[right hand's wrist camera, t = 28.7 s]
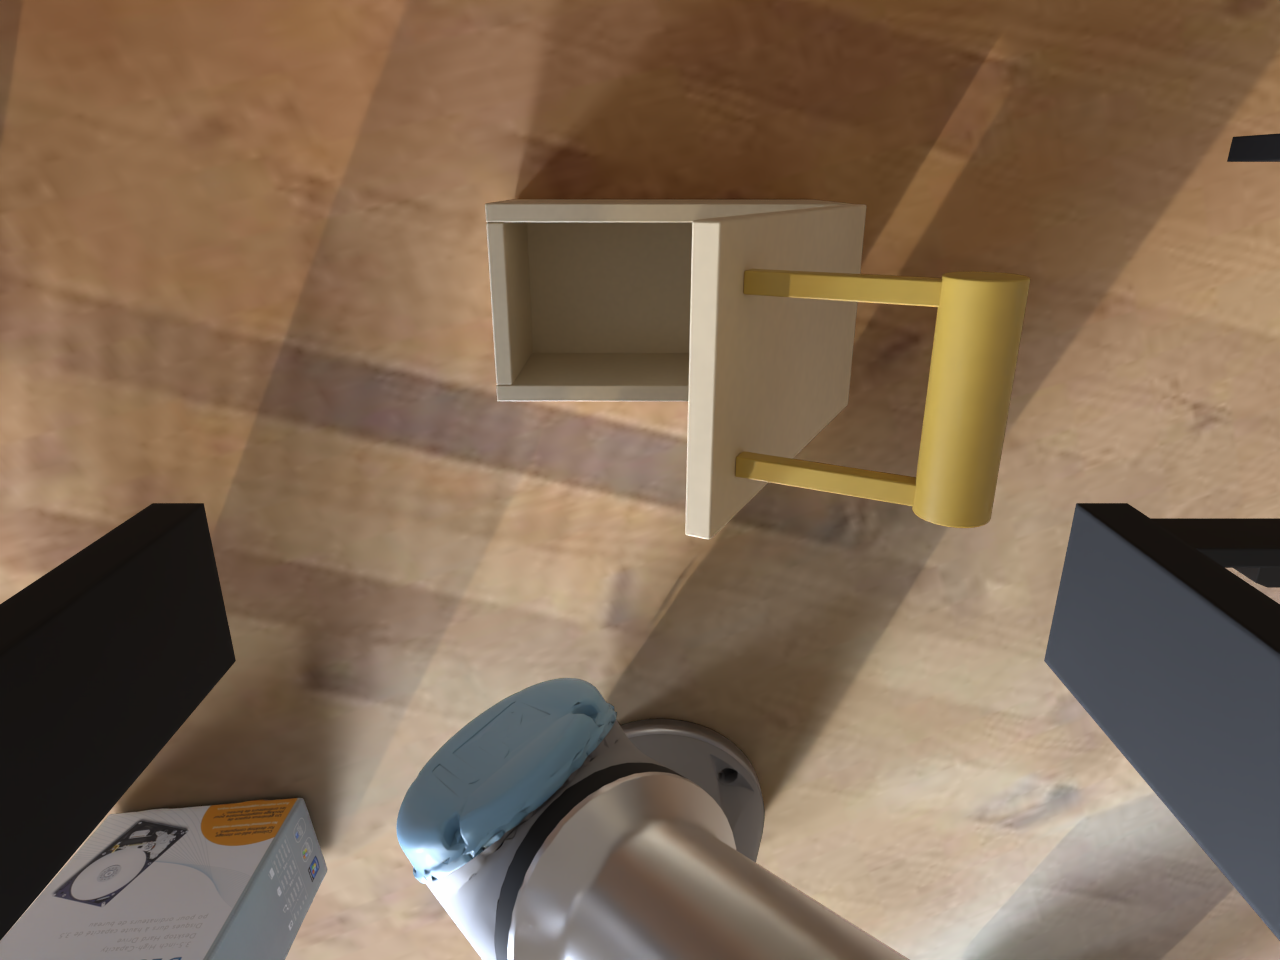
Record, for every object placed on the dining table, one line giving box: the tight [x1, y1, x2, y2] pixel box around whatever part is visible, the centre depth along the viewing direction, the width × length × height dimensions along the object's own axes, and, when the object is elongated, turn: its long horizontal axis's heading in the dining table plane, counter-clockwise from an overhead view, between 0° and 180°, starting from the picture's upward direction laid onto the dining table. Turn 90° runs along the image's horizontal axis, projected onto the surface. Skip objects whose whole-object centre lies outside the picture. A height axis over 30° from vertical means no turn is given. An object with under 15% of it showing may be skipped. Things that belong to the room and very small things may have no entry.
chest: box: [485, 199, 850, 401], centre depth 43 cm, size 17×10×9 cm, turn 90°
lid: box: [685, 204, 1030, 539], centre depth 29 cm, size 18×10×9 cm
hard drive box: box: [0, 798, 327, 960], centre depth 52 cm, size 16×8×20 cm, turn 97°
